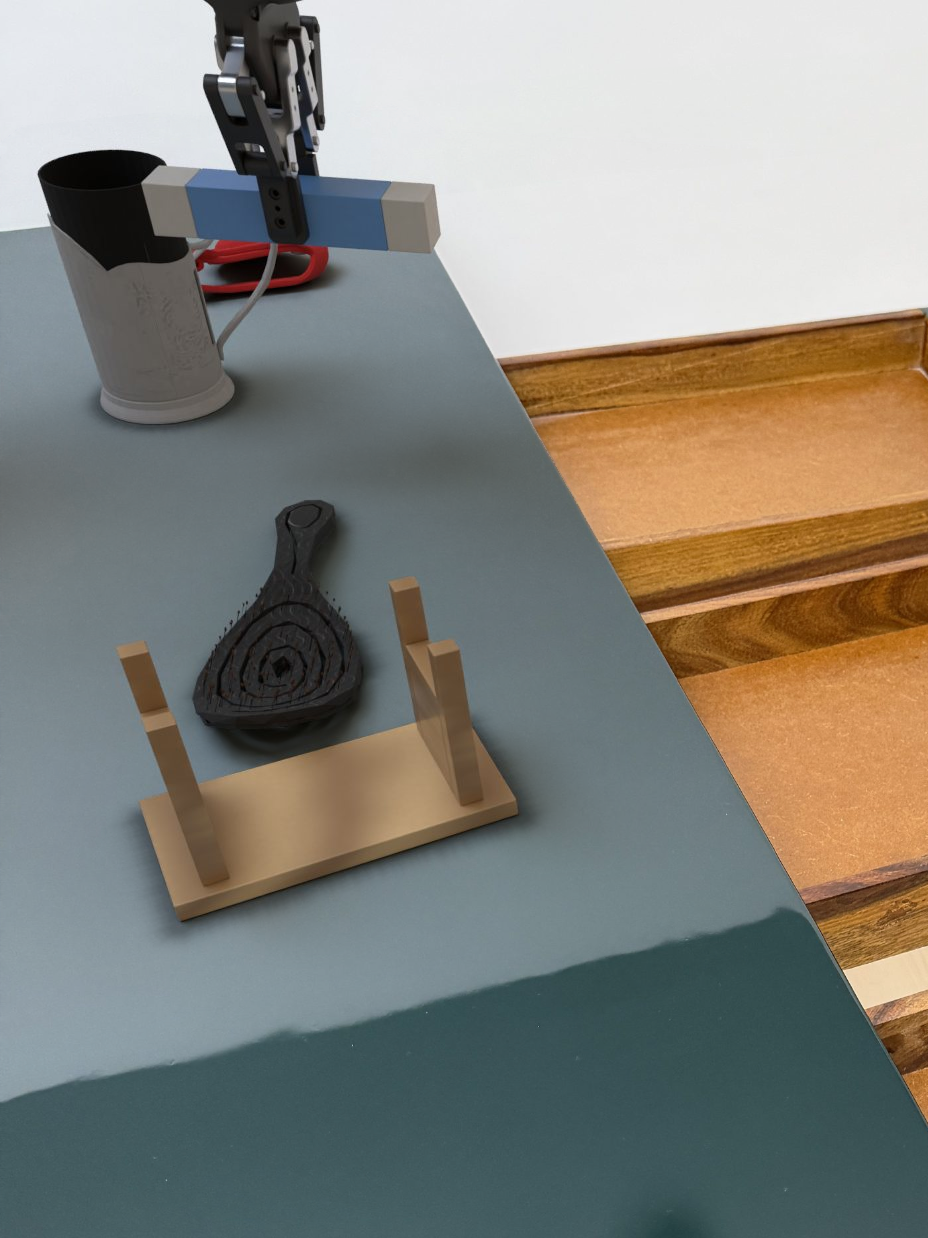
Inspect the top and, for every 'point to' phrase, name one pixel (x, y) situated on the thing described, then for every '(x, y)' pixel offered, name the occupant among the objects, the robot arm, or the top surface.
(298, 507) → the hairbrush
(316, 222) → the handle
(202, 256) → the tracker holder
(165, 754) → the holder
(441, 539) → the top surface
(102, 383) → the glass holder
